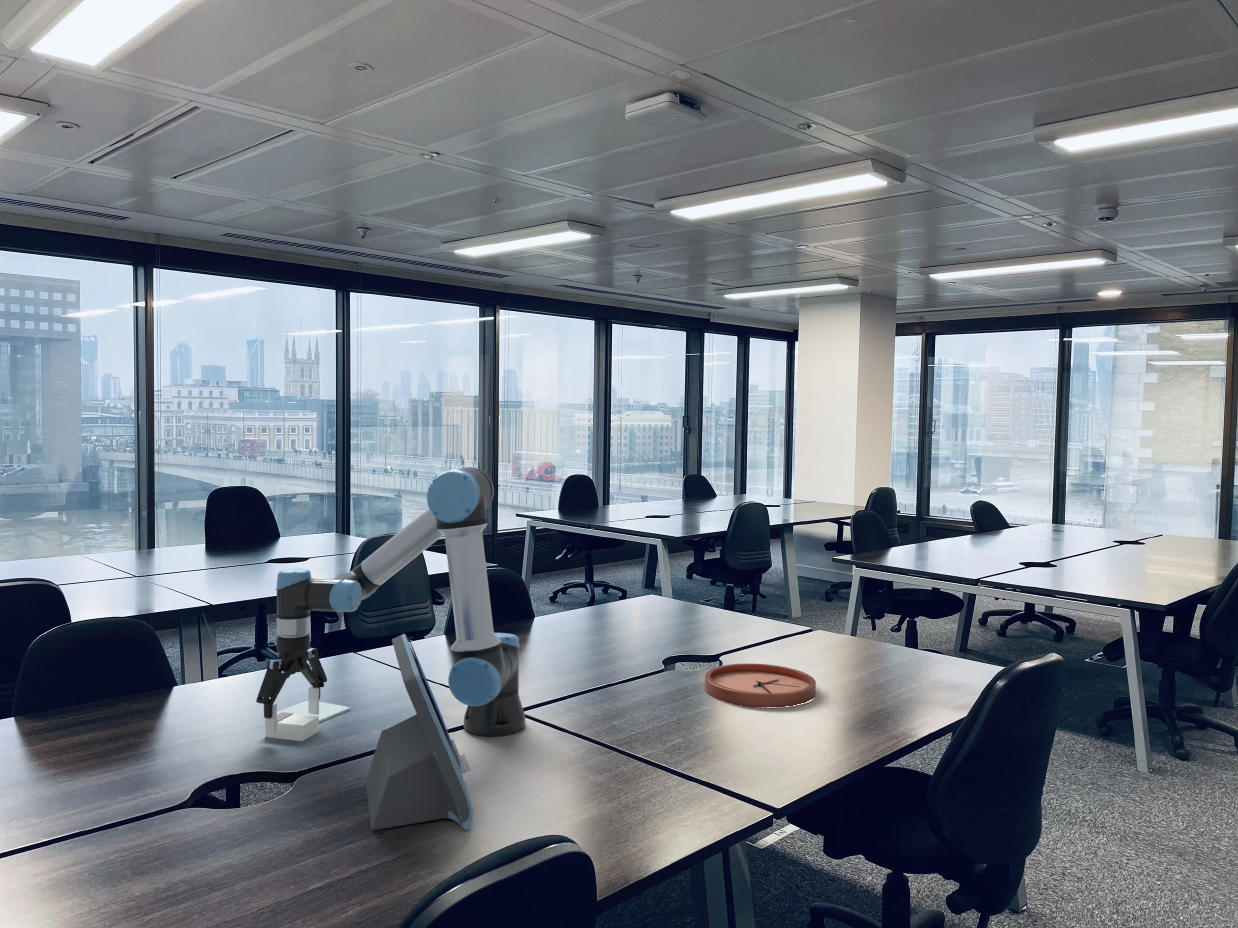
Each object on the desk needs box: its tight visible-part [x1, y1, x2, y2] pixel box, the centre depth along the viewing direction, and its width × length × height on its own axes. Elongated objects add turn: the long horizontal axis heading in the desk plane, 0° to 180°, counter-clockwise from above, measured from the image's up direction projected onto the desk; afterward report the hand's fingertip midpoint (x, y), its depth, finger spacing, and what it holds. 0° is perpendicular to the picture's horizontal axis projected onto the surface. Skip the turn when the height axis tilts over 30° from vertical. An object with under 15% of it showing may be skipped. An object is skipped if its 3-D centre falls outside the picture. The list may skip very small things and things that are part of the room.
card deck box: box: [264, 712, 320, 742], centre depth 206 cm, size 10×6×4 cm, turn 77°
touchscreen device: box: [365, 633, 474, 831], centre depth 171 cm, size 35×20×30 cm, turn 18°
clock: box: [704, 663, 817, 709], centre depth 247 cm, size 31×4×31 cm
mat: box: [277, 699, 351, 724], centre depth 221 cm, size 14×14×1 cm
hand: (293, 722), depth 206 cm, fingers open, 13 cm apart
